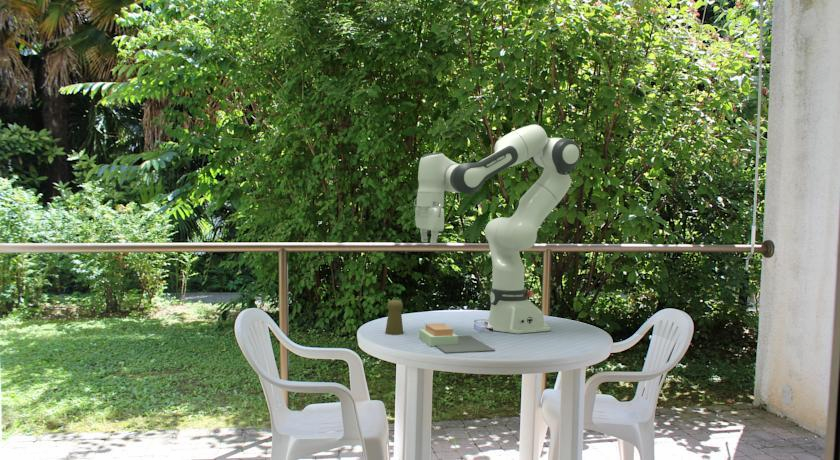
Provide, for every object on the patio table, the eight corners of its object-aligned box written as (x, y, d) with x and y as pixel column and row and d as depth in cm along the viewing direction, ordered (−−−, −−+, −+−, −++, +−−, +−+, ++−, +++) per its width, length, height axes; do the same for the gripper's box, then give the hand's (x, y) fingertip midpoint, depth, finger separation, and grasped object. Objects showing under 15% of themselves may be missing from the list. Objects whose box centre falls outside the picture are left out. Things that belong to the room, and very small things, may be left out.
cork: (399, 335, 236) (400, 302, 236) (382, 333, 238) (383, 300, 238) (405, 332, 242) (406, 299, 241) (389, 330, 244) (390, 298, 243)
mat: (469, 336, 237) (469, 335, 237) (495, 351, 217) (495, 349, 217) (423, 338, 232) (423, 337, 232) (445, 353, 212) (445, 352, 212)
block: (443, 329, 232) (443, 323, 232) (452, 335, 224) (452, 329, 224) (425, 330, 231) (425, 324, 230) (434, 336, 222) (434, 329, 222)
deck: (445, 337, 235) (445, 328, 235) (457, 345, 224) (458, 335, 223) (418, 338, 232) (419, 329, 232) (430, 346, 221) (430, 337, 221)
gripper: (449, 202, 228) (448, 246, 229) (430, 201, 247) (428, 241, 248) (431, 202, 226) (429, 245, 227) (412, 200, 245) (411, 240, 246)
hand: (428, 243), depth 238 cm, fingers open, 8 cm apart
